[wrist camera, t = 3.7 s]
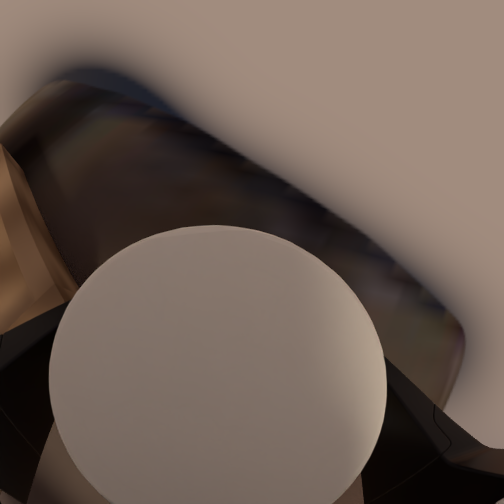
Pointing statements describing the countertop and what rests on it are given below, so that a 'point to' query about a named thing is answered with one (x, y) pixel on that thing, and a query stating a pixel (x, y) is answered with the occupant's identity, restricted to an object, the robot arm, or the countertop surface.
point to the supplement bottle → (217, 373)
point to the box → (26, 253)
